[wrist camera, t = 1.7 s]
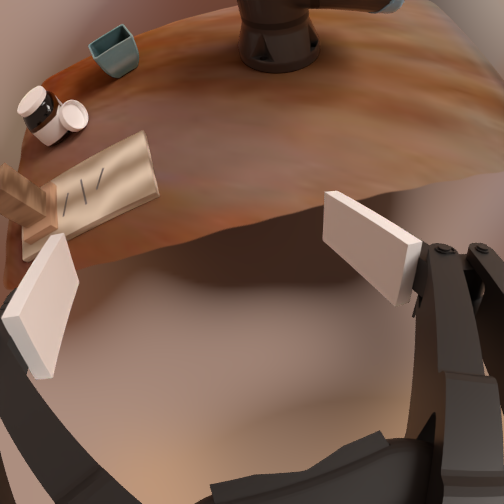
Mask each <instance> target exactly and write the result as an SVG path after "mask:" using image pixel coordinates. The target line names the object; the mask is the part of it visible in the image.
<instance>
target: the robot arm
mask: <svg viewBox="0 0 504 504" xmlns="http://www.w3.org/2000/svg"><path fill="white" fill-rule="evenodd" d="M237 2H238V7H239V11H240V15H241V19H242V25H241V31H240V36H239V42H238V48H239V53H240V57H241V59H242V61H243V62H244V63H245V64H246V65H248V66H249V67H251V68H253V69H256V70H259V71H263V72H270V73H284V72H291V71H295V70H299V69H301V68H304V67H306V66H308V65H309V64H311V63H312V62H313V61H315V59H316V58H317V57H318V55H319V51H320V42H319V37H318V35H317V32H316V30H315V28H314V26H313V24H312V22H311V20H310V18H309V11H308V9H338V10H351V11H361V12H368V13H393V12H395V11H397V10H398V9H399V8H400V7H401V6H402V4H403V2H404V0H237ZM323 241H324V242H325V243H326V244H328V245H329V246H330V247H331V248H332V249H333V250H334V251H335V252H337V253H338V254H339V255H340V256H341V257H342V258H343V259H344V260H345V261H346V262H348V263H349V264H350V265H351V266H352V267H353V268H354V269H355V270H356V271H358V272H359V273H360V274H361V275H362V276H363V277H364V278H365V279H366V280H367V281H368V282H369V283H370V284H371V285H373V286H374V287H375V288H376V289H377V290H378V291H379V292H380V293H381V294H382V295H383V296H384V297H385V298H386V299H387V300H388V301H390V302H391V303H392V304H393V305H394V306H395V307H397V306H400V305H403V304H406V303H409V301H410V297H411V293H412V289H413V290H414V291H415V292H416V293H417V294H418V297H417V301H416V304H415V308H414V311H413V315H412V317H415V315H416V331H415V353H414V368H413V381H412V391H411V401H410V409H409V417H408V424H407V430H406V434H405V438H393V439H385V438H384V436H383V435H382V433H381V432H380V431H377V432H375V433H373V434H370V435H368V436H366V437H364V438H361V439H359V440H357V441H354V442H352V443H350V444H347V445H344V446H343V447H341V448H340V449H338V450H337V451H335V452H334V453H332V454H331V455H329V456H328V457H327V458H325V459H323V460H322V461H320V462H319V463H317V464H316V465H314V466H313V467H311V468H309V469H308V470H305V471H301V472H290V473H277V474H259V475H251V476H248V477H243V478H239V479H235V480H230V481H225V482H221V483H216V484H210V488H211V492H212V495H211V496H208V497H206V498H204V499H202V500H200V501H199V502H197V503H195V504H504V459H503V457H504V456H503V431H502V418H501V408H502V411H503V414H504V262H503V260H502V259H501V258H500V257H499V256H498V255H497V254H496V253H495V251H494V250H493V249H491V248H490V247H488V246H487V245H485V244H483V243H472V244H470V245H469V248H468V252H467V254H458V252H457V251H456V250H455V249H454V248H453V247H451V246H448V245H446V244H439V243H435V244H431V245H428V244H426V243H425V242H424V241H422V240H420V239H419V238H417V237H416V236H413V234H411V233H409V232H407V231H406V230H405V229H403V228H401V227H399V226H397V225H395V224H394V223H392V222H390V221H388V220H387V219H385V218H384V217H382V216H380V215H379V214H377V213H375V212H374V211H372V210H370V209H369V208H367V207H365V206H363V205H362V204H360V203H358V202H356V201H355V200H353V199H351V198H349V197H348V196H346V195H344V194H342V193H340V192H339V191H330V192H325V195H324V224H323ZM78 285H79V280H78V277H77V274H76V271H75V268H74V264H73V261H72V258H71V255H70V251H69V248H68V244H67V241H66V237H65V234H64V233H60V234H55V235H51V236H50V237H49V239H48V240H47V242H46V243H45V245H44V246H43V248H42V249H41V251H40V252H39V254H38V255H37V257H36V258H35V260H34V262H33V263H32V265H31V266H30V268H29V270H28V271H27V273H26V275H25V276H24V278H23V280H22V281H21V283H20V285H19V286H18V288H15V289H14V290H13V291H12V292H11V293H10V294H9V295H8V296H7V298H6V300H5V301H4V304H3V305H2V306H1V308H0V417H1V419H2V421H3V423H4V425H5V427H6V429H7V431H8V432H9V434H10V436H11V438H12V440H13V441H14V443H15V445H16V446H17V448H18V450H19V451H20V453H21V455H22V456H23V458H24V459H25V461H26V463H27V464H28V465H29V467H30V469H31V470H32V472H33V473H34V475H35V476H36V478H37V479H38V480H39V482H40V483H41V484H42V486H43V487H44V489H45V490H46V492H47V493H48V494H49V495H50V497H51V498H52V500H53V501H54V502H55V504H142V503H141V502H140V501H138V500H137V499H136V498H135V497H134V496H133V495H131V494H130V493H129V492H128V491H127V490H126V489H125V488H123V486H121V485H120V484H119V483H118V482H117V481H116V480H115V479H114V478H113V477H112V476H111V475H110V474H109V473H108V472H107V471H106V470H105V469H103V468H102V467H101V466H100V465H99V464H98V463H97V462H96V461H95V460H94V459H93V458H92V457H91V456H90V455H89V454H88V453H87V451H86V450H85V449H84V448H83V447H82V446H81V445H80V444H79V443H78V442H77V441H76V439H75V438H74V437H73V436H72V435H71V433H70V432H69V431H68V430H67V429H66V428H65V426H64V425H63V424H62V423H61V421H59V419H58V418H57V416H56V415H55V414H54V413H53V412H52V410H51V409H50V408H49V406H48V405H47V404H46V402H45V401H44V400H43V398H42V397H41V395H40V394H39V393H38V391H37V390H36V388H35V387H34V386H33V384H32V383H31V381H30V380H29V378H28V377H27V375H26V374H27V371H28V368H29V370H30V372H31V373H32V375H33V376H34V378H35V379H36V380H38V379H50V378H53V375H54V370H55V366H56V361H57V357H58V353H59V349H60V346H61V342H62V338H63V334H64V331H65V327H66V323H67V320H68V316H69V313H70V310H71V306H72V303H73V300H74V297H75V294H76V291H77V288H78ZM483 293H484V295H483ZM482 359H483V360H482ZM483 362H484V364H485V366H486V369H487V371H488V373H489V376H485V374H484V367H483ZM500 406H501V407H500ZM0 504H16V503H15V500H14V497H13V494H12V491H11V488H10V485H9V482H8V478H7V476H6V472H5V468H4V465H3V461H2V457H1V453H0Z"/></svg>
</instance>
